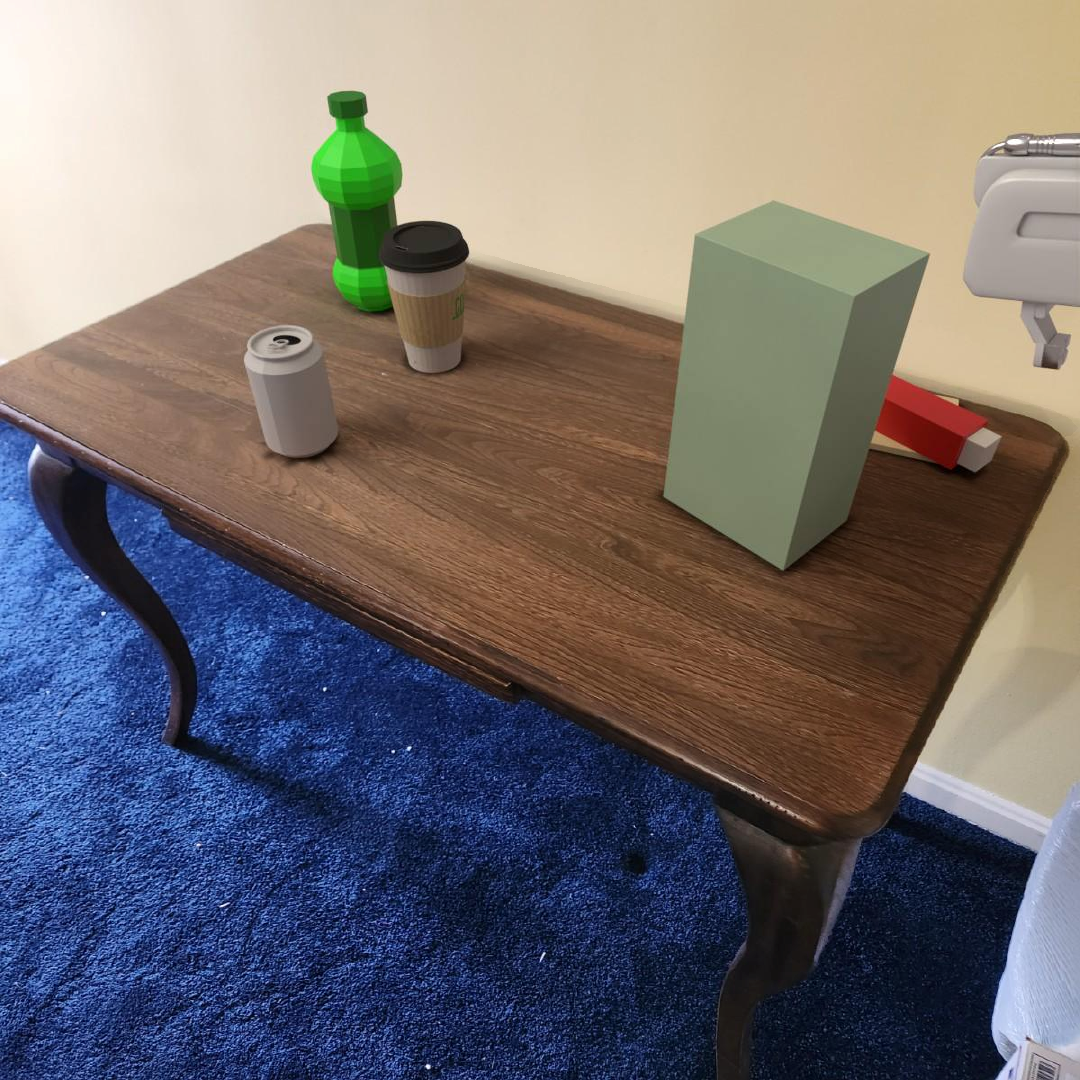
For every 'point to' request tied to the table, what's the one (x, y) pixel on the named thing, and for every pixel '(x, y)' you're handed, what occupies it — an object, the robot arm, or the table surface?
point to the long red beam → (935, 427)
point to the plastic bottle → (358, 200)
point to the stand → (784, 373)
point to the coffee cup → (427, 290)
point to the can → (291, 391)
